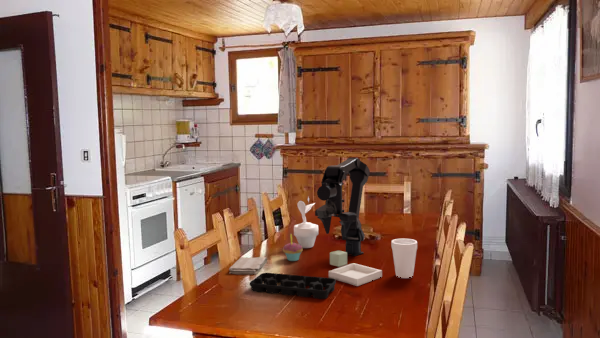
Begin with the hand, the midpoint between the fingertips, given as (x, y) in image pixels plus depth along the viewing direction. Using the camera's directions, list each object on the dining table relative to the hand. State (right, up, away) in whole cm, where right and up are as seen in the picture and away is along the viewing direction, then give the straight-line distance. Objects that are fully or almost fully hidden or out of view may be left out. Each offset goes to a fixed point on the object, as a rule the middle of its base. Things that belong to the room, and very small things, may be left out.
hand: (335, 235), depth 202 cm
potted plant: (-11, -9, +31) cm, 34 cm away
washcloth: (-35, -14, 0) cm, 38 cm away
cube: (+1, -12, +1) cm, 12 cm away
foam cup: (+25, -13, -15) cm, 32 cm away
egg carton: (-17, -16, -27) cm, 36 cm away
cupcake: (-17, -12, +10) cm, 23 cm away
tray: (+6, -14, -16) cm, 22 cm away
